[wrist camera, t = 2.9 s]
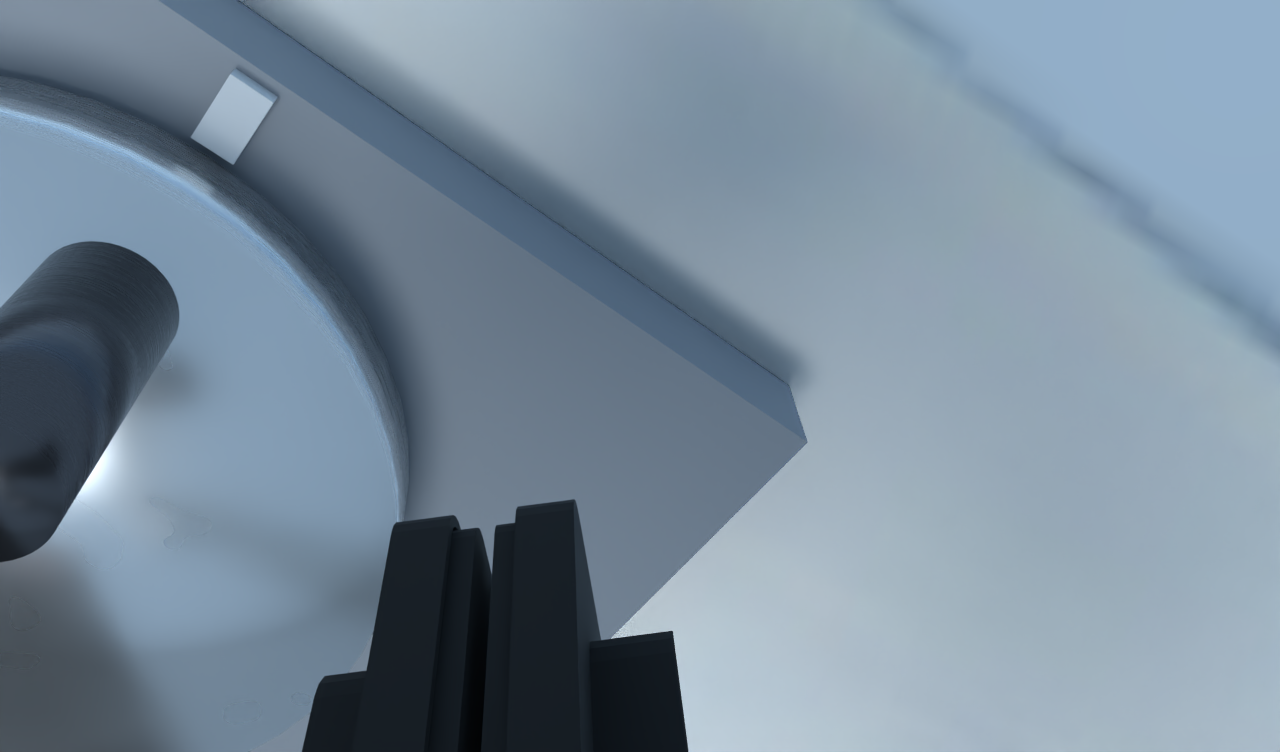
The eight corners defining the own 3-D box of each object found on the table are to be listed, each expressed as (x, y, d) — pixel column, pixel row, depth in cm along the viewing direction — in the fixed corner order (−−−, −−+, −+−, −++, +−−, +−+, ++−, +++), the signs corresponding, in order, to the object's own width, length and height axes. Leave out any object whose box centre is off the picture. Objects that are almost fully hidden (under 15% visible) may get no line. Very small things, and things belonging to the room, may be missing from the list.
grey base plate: (789, 385, 23) (810, 451, 21) (354, 833, 28) (338, 918, 26) (-466, -491, 15) (-624, -521, 13) (-709, 370, 21) (-845, 441, 19)
